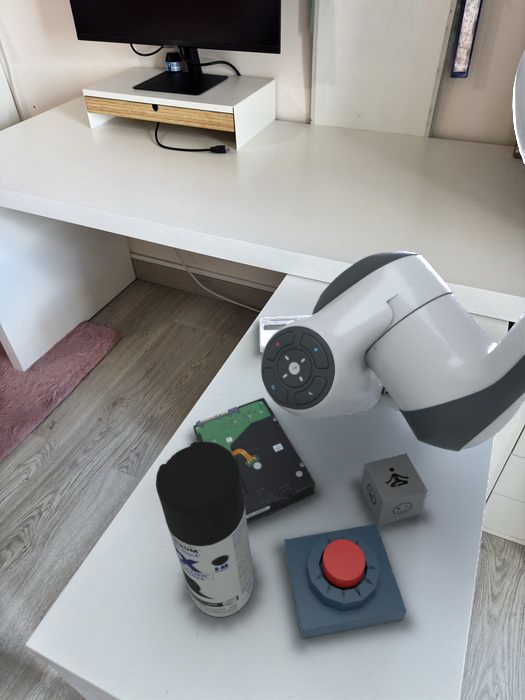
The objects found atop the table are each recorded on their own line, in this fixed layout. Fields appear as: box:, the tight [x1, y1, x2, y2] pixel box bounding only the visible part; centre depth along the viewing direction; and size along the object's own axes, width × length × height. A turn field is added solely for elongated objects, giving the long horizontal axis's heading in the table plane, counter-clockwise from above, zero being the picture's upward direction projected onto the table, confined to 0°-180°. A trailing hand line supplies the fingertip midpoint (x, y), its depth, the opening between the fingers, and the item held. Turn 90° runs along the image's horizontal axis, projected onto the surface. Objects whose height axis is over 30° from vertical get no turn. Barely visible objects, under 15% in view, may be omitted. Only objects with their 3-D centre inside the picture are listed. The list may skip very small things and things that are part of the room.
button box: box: [283, 523, 407, 640], centre depth 50 cm, size 10×9×4 cm
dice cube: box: [360, 452, 428, 527], centre depth 57 cm, size 5×5×5 cm
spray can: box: [155, 441, 255, 618], centre depth 45 cm, size 7×7×20 cm
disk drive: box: [192, 397, 316, 524], centre depth 62 cm, size 10×3×15 cm
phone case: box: [259, 314, 312, 354], centre depth 79 cm, size 7×1×15 cm
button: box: [322, 540, 365, 588], centre depth 49 cm, size 4×4×2 cm
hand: (371, 378), depth 68 cm, fingers closed on lever, 3 cm apart
